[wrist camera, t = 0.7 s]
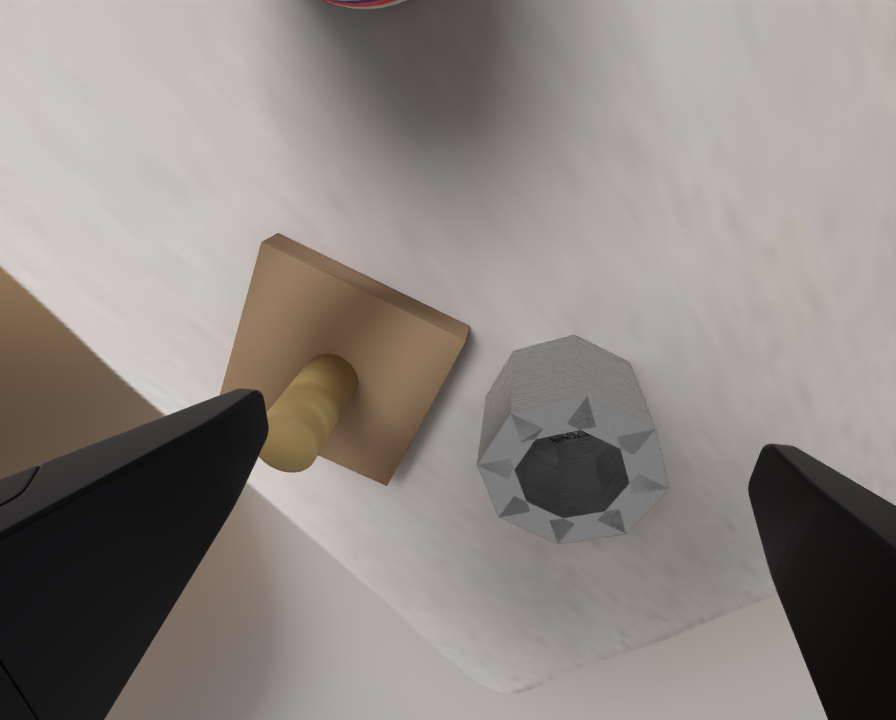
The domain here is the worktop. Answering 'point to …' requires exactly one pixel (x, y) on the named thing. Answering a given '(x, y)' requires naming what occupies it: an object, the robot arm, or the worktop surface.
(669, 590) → the worktop surface
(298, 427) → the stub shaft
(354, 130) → the worktop surface
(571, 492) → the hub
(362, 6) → the pill bottle
